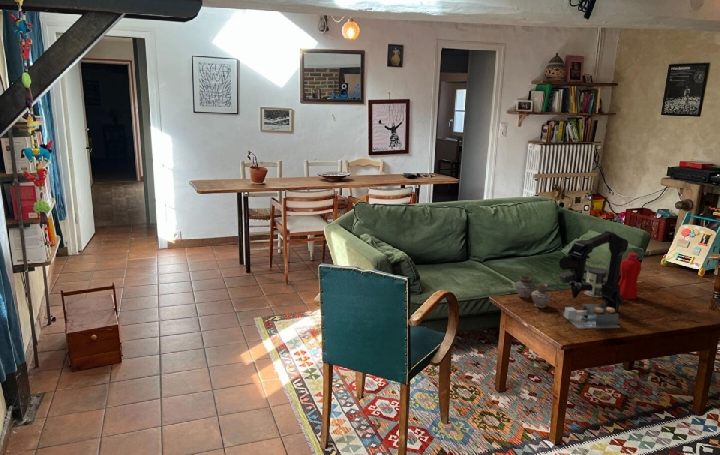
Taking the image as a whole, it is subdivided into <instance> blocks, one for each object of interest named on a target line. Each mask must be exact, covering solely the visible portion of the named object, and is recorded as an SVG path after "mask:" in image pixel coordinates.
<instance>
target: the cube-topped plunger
mask: <svg viewBox="0 0 720 455" xmlns="http://www.w3.org/2000/svg"><path fill="white" fill-rule="evenodd" d="M588 312H589V310H588V309H587V310H582V309H580V310H577V309H576V308H574V307H573V306H570V307H565V308H564V313H563V314H564V316H565V317H566V318H567V319H576V316H578V315H587V316H588ZM564 316H563V317H564ZM565 317H564V318H565ZM566 318H565V319H566ZM567 319H566V320H567Z"/></svg>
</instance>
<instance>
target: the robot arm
mask: <svg viewBox="0 0 720 455" xmlns="http://www.w3.org/2000/svg"><path fill="white" fill-rule="evenodd" d="M607 243H608V250H609V252H610V261H609V268H608V273H607V280H606V283H605V284H602V289H601V294H602V297H601V298H602V299H604V301H603V304H605V305H606V306H608V307H611V308H614V309H615V312H616V313H618V314H621V313H620V311H619V308H620V304H622V303H623V301H624V299H623V297H622V296H621V294H620V287H619V280H620V279H619V277H620V274H621V273H620V271H621V268H620V266H621V262H622V261H623V255H624V254H626V252H627V251H628V247H629V241H628V239H626V238H624V237H623V238H622V237H621V236H619V235H617V234H616V233H615V232H611V231H608V230H606V231H604V232H602V233H600V234H598V235H595V236H594V237H591V238H589V239H580V240H576V241H574V243H573V244H572V246H571V247H570V249H569V251H568V252H567V253H566V254H565V255H563V257H562V258H561V259H559V262H558V264H559V267H560V269H561V270H563V272H562V273H559V281H560V282H562V283H563V284H568V285H569V287H570V289H571V294H572V295H571V296H572V298H573V299H576V298H577V297H578V296H579V294H580V293H581V292H583V291H584V292H585V291H592V289H593V286H592V285H591V284H590V283H588V282H586V278H585V274H586V273H588V270H586V263H587V259H588V260H589V259H590V258H591V257H590V256H589V254H591V253H592V252H593V250H594V249H596V248H598V247H600V246H603V245H605V244H607ZM564 270H567V271H564Z"/></svg>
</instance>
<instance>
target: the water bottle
mask: <svg viewBox="0 0 720 455" xmlns="http://www.w3.org/2000/svg"><path fill="white" fill-rule="evenodd" d="M641 271H642V263H641V262H640V260H638V254H637V253H636V252H628V254H627V257H626V258H624V259H622V260H621V266H620V273H619V274H620V279H619V281H618V284H619V287H620V294H621V296H622V297H623V299H625V300H633V299H636V298H637V296H638V278H639V276H640V273H641Z"/></svg>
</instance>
